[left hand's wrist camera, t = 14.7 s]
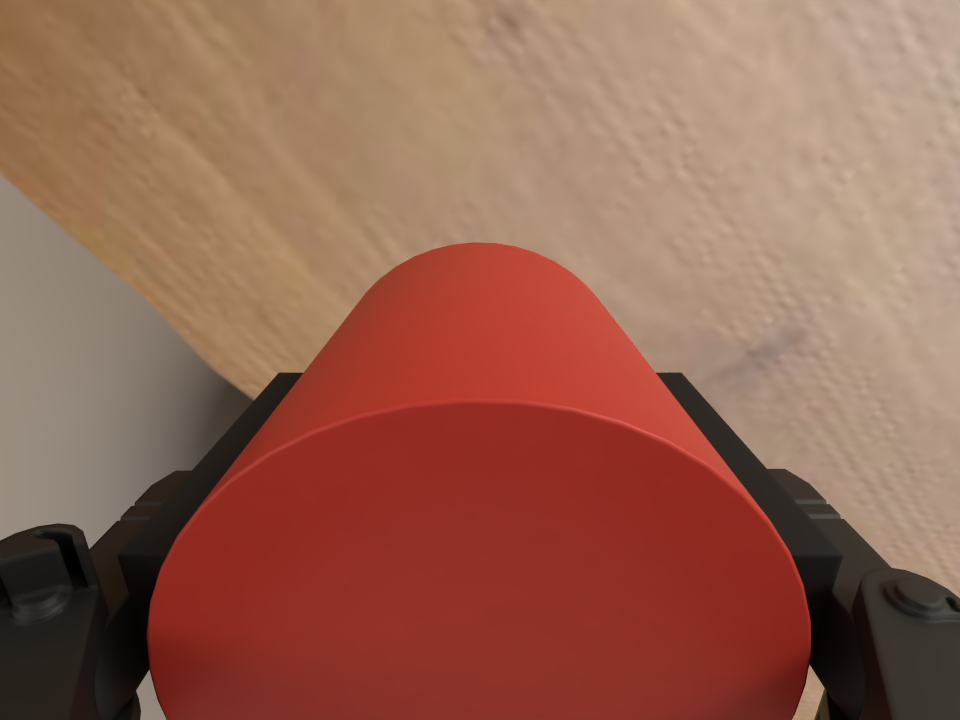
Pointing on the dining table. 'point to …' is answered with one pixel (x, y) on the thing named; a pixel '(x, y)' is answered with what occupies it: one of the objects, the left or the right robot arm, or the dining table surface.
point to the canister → (479, 529)
